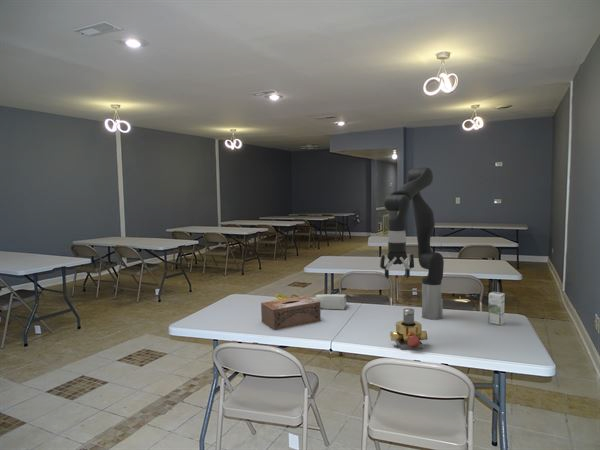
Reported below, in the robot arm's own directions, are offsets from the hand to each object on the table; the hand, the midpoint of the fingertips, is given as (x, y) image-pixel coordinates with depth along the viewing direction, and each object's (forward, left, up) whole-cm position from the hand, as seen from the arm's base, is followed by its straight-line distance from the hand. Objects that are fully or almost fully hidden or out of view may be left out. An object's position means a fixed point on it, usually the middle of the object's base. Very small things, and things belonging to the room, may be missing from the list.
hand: (397, 277), depth 179 cm
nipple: (-2, +11, -20) cm, 23 cm away
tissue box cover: (+47, -25, -27) cm, 60 cm away
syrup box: (-51, -14, -26) cm, 59 cm away
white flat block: (+27, -56, -27) cm, 68 cm away
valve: (-2, +12, -26) cm, 29 cm away
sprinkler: (+50, -55, -27) cm, 79 cm away
